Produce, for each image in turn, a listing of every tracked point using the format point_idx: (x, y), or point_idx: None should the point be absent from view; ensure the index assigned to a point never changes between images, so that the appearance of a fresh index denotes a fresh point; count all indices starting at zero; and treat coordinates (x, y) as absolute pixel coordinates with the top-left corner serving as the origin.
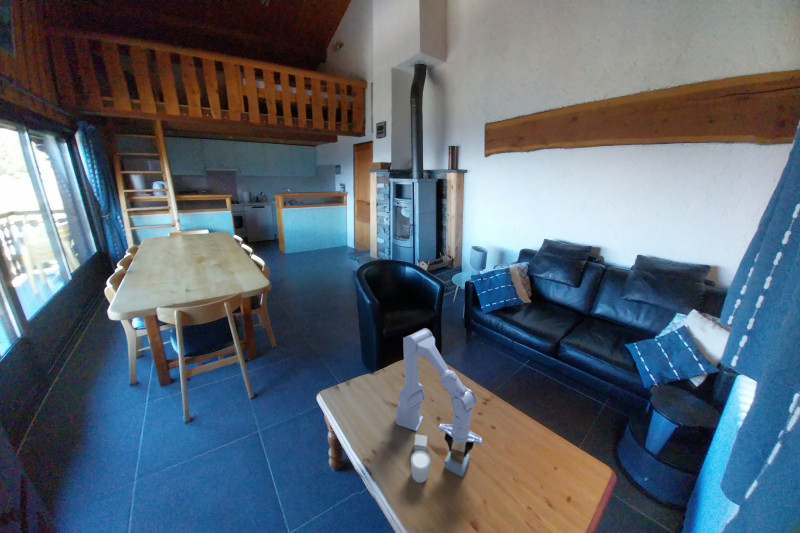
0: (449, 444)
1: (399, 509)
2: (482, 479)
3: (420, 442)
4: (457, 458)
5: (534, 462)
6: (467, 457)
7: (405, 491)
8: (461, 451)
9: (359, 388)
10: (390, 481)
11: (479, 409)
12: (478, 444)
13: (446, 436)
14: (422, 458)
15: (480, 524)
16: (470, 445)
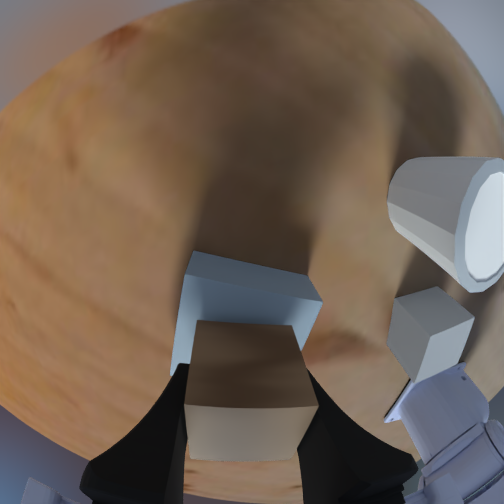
0: (341, 427)
1: (449, 45)
2: (96, 270)
3: (450, 340)
4: (240, 340)
5: (4, 364)
6: (180, 359)
7: (454, 110)
8: (212, 408)
9: (498, 387)
10: (493, 148)
11: (194, 477)
12: (43, 494)
13: (396, 484)
14: (487, 243)
15: (90, 49)
16: (107, 499)
